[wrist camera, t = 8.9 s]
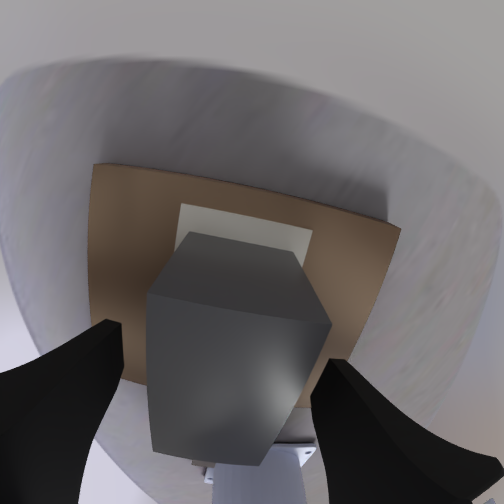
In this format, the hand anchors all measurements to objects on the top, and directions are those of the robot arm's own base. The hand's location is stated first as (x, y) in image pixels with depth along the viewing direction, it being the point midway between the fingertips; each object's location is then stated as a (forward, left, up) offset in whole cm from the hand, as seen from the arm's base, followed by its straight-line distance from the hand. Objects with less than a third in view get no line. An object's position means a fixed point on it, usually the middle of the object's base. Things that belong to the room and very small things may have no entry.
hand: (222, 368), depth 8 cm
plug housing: (0, 0, -3) cm, 3 cm away
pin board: (0, 0, -4) cm, 4 cm away
